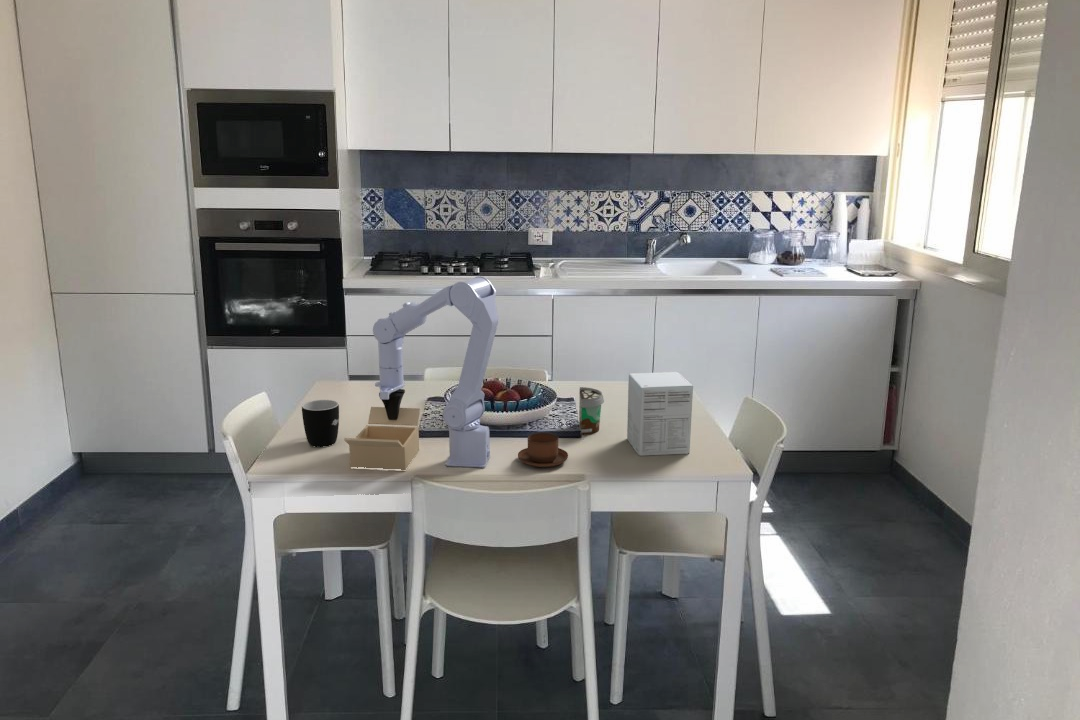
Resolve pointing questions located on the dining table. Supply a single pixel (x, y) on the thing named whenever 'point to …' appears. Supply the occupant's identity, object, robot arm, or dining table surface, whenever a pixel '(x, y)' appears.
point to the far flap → (404, 418)
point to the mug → (321, 422)
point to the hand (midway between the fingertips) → (392, 419)
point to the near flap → (373, 442)
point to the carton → (386, 448)
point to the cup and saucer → (543, 451)
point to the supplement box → (659, 413)
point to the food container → (590, 410)
